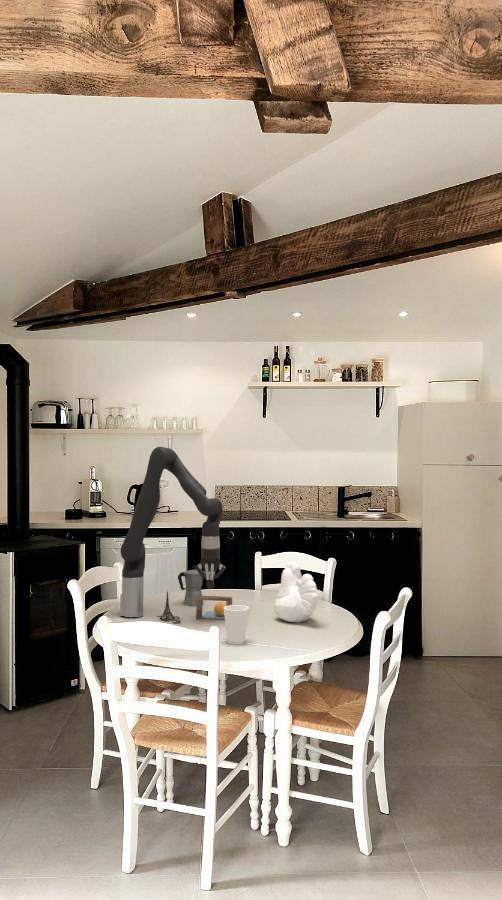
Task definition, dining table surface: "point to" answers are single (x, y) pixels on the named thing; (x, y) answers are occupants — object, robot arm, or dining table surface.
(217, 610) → the ball
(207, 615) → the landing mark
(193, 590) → the coffeepot
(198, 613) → the bridge
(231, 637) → the foam cup
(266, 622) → the dining table surface
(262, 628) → the dining table surface
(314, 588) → the decorative rooster
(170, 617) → the eiffel tower figurine
